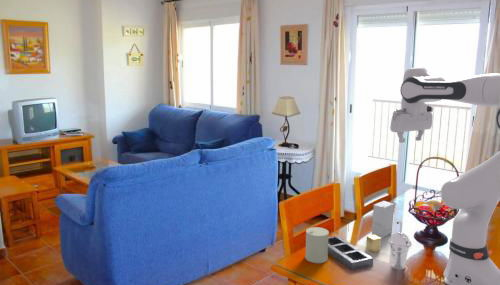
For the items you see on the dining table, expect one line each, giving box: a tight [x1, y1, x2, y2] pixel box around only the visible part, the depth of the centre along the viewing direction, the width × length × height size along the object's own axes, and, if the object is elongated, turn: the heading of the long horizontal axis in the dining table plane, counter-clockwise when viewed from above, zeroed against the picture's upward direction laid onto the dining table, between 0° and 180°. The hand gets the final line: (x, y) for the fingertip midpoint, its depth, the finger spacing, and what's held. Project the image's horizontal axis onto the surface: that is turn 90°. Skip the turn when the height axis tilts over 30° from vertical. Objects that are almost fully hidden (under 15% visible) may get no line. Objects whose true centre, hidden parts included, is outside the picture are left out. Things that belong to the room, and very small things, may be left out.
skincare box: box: [371, 200, 395, 239], centre depth 198 cm, size 8×6×15 cm
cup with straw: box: [388, 220, 413, 270], centre depth 166 cm, size 8×9×20 cm
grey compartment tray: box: [328, 235, 374, 271], centre depth 178 cm, size 24×10×3 cm, turn 24°
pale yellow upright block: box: [365, 234, 382, 254], centre depth 183 cm, size 4×4×6 cm
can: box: [304, 226, 330, 264], centre depth 175 cm, size 9×9×12 cm
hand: (410, 141), depth 178 cm, fingers open, 8 cm apart
